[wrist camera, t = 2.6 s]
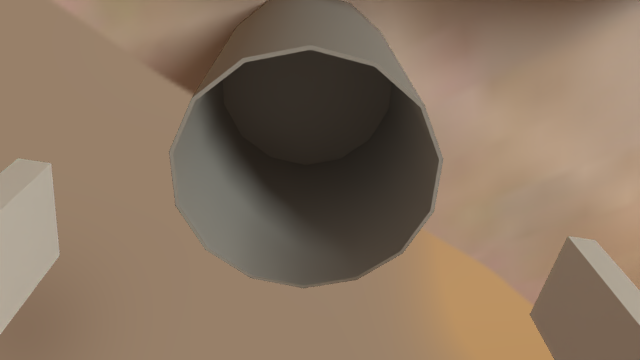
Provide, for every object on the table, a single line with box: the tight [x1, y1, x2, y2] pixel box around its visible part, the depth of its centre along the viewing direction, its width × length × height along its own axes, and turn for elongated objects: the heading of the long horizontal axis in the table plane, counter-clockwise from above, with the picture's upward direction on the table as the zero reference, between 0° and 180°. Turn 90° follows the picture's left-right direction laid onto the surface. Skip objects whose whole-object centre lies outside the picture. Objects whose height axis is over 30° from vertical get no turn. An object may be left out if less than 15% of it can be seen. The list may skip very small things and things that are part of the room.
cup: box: [169, 0, 443, 288], centre depth 20 cm, size 8×8×10 cm
